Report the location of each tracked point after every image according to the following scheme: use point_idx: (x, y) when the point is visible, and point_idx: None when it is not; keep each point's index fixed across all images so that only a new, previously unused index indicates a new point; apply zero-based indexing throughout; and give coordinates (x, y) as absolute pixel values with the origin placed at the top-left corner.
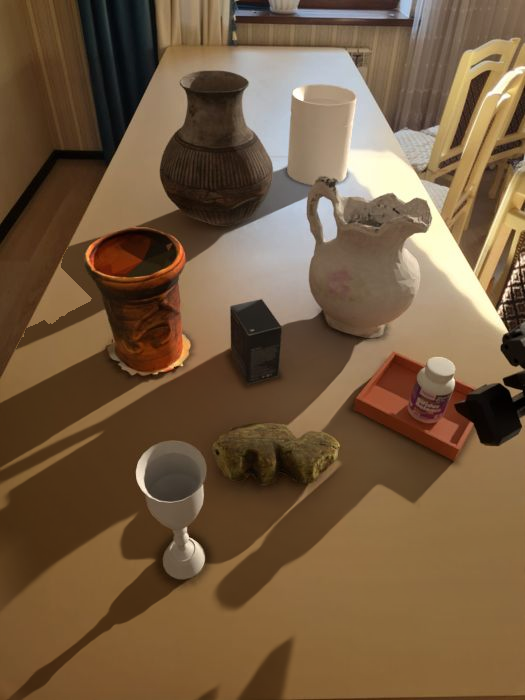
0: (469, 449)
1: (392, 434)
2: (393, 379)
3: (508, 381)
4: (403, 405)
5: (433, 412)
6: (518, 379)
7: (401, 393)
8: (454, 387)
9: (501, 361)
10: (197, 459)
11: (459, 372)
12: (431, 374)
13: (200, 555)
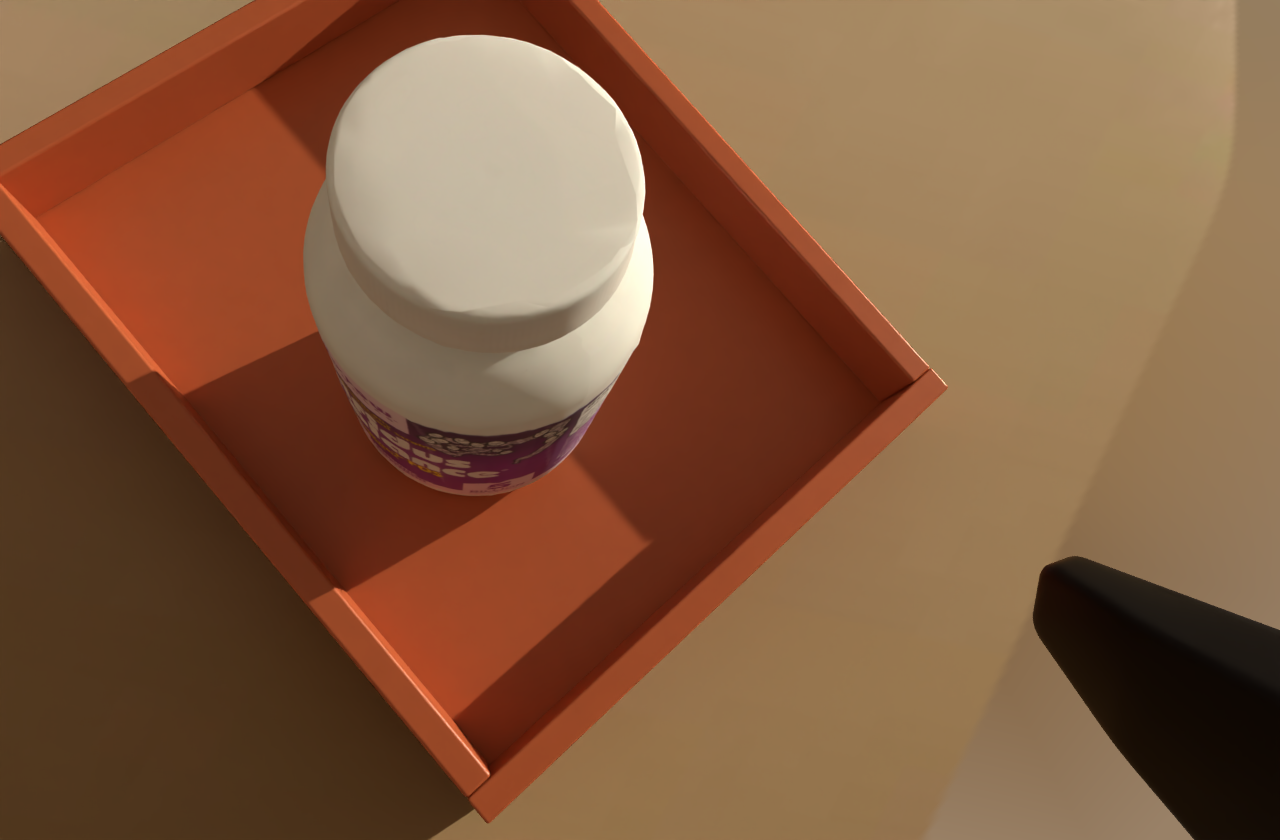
0: (635, 726)
1: (176, 496)
2: None
3: (1092, 642)
4: None
5: (441, 474)
6: (1229, 742)
7: None
8: (762, 255)
9: (1141, 136)
10: None
11: (866, 142)
12: (338, 242)
13: None
